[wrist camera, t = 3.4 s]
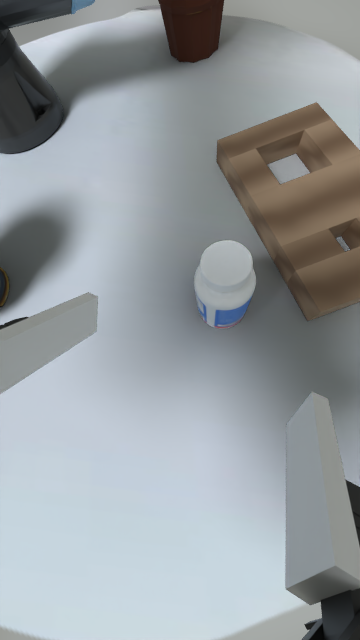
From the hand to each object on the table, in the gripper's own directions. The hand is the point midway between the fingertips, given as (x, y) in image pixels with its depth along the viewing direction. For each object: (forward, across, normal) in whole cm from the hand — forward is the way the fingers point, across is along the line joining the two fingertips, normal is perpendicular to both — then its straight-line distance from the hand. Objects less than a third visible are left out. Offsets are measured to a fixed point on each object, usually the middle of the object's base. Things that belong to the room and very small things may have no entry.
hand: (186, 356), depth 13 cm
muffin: (+46, -25, +29) cm, 60 cm away
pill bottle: (+14, 0, -3) cm, 15 cm away
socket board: (+26, +4, +9) cm, 27 cm away
